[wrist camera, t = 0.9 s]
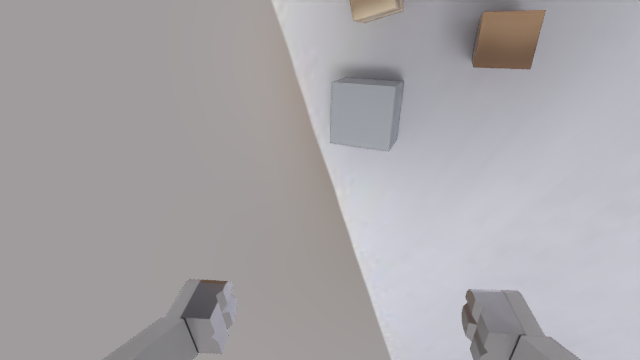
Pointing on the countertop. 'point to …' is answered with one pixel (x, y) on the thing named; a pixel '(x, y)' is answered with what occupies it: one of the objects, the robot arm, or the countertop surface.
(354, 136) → the grey block
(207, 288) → the robot arm
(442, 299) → the countertop surface
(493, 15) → the walnut block
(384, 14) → the oak block
